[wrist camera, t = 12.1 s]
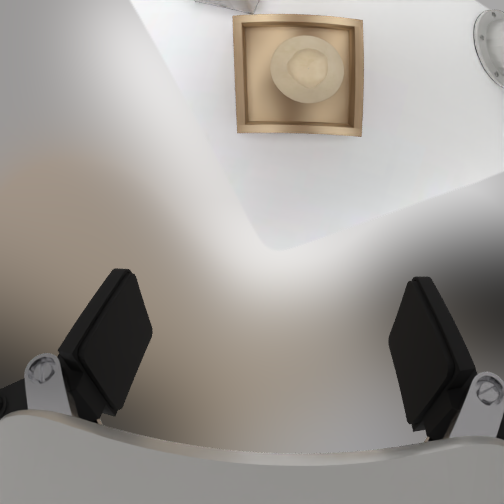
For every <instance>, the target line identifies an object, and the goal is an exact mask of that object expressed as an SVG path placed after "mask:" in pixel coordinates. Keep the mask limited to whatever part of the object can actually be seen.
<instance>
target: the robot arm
mask: <svg viewBox="0 0 504 504" xmlns="http://www.w3.org/2000/svg"><path fill="white" fill-rule="evenodd" d="M474 39H475V46H476V49H477V53H478V56H479V58H480V61H481V63H482V65H483V66H484V68H485V70H486V71H487V73H488V74H489V76H490V77H491V78H492V79H493V80H494V81H495V82H496V83H497V84H498V85H500V86H501V87H503V88H504V12H503V11H500V10H488V11H485V12H483V13H482V14H480V16H479V17H478V18H477V21H476V23H475V29H474ZM151 337H152V326H151V323H150V320H149V317H148V314H147V311H146V308H145V305H144V302H143V299H142V295H141V292H140V289H139V285H138V282H137V279H136V276H135V274H133V273H132V272H131V271H130V270H129V269H114V270H112V271H111V273H110V274H109V275H108V277H107V278H106V280H105V281H104V282H103V284H102V285H101V286H100V288H99V289H98V291H97V292H96V294H95V295H94V296H93V298H92V299H91V301H90V302H89V303H88V305H87V307H86V308H85V310H84V311H83V312H82V314H81V315H80V317H79V318H78V320H77V321H76V323H75V324H74V326H73V327H72V329H71V330H70V332H69V333H68V335H67V337H66V338H65V340H64V341H63V343H62V345H61V346H60V348H59V349H58V351H59V355H58V357H56V356H55V355H53V354H50V353H44V354H40V355H38V356H36V357H35V358H33V359H32V360H31V361H30V362H29V364H28V365H27V367H26V370H25V378H24V379H22V380H20V381H17V382H15V383H13V384H11V385H8V386H6V387H4V388H2V389H0V504H504V382H503V381H502V380H501V378H500V377H498V376H497V375H495V374H493V373H491V372H482V373H479V374H477V372H476V369H475V365H474V363H473V361H472V358H471V356H470V354H469V351H468V349H467V347H466V345H465V343H464V341H463V338H462V336H461V334H460V332H459V330H458V328H457V326H456V324H455V322H454V320H453V318H452V316H451V314H450V313H449V310H448V308H447V307H446V305H445V303H444V301H443V299H442V298H441V295H440V293H439V292H438V290H437V288H436V286H435V285H434V283H433V281H432V279H431V278H430V277H414V278H413V279H412V281H409V282H408V283H407V286H406V289H405V293H404V295H403V298H402V302H401V304H400V307H399V311H398V313H397V316H396V319H395V322H394V324H393V327H392V330H391V332H390V335H389V348H390V352H391V355H392V359H393V363H394V367H395V370H396V374H397V378H398V382H399V387H400V391H401V395H402V400H403V404H404V409H405V413H406V418H407V422H408V423H409V424H412V428H413V432H414V431H420V430H426V434H427V438H426V440H425V441H424V443H419V444H412V445H406V446H399V447H391V448H384V449H376V450H366V451H355V452H341V453H316V454H315V453H313V454H286V453H284V454H283V453H259V452H245V451H234V450H224V449H216V448H208V447H200V446H194V445H187V444H182V443H176V442H171V441H165V440H160V439H156V438H151V437H146V436H142V435H138V434H134V433H130V432H126V431H122V430H118V429H114V428H110V427H107V426H104V425H102V422H101V420H100V416H101V414H102V413H104V414H108V415H111V416H116V413H117V411H118V410H120V409H121V408H122V407H123V405H124V402H125V399H126V397H127V395H128V392H129V390H130V387H131V384H132V382H133V380H134V377H135V375H136V373H137V370H138V367H139V365H140V363H141V361H142V358H143V356H144V353H145V351H146V349H147V346H148V344H149V342H150V339H151Z"/></svg>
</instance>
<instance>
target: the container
mask: <svg viewBox="0 0 504 504" xmlns="http://www.w3.org/2000/svg"><path fill="white" fill-rule="evenodd" d="M194 1H195V2H201V3H206V4H211V5H216V6H221V7H225V8H230V9H234V10H238V11H242V12H246V13H250V14H252V13H253V12H254V11H255V9H256V6H257V4H258V2H259V0H194Z"/></svg>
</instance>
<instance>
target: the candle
mask: <svg viewBox="0 0 504 504" xmlns="http://www.w3.org/2000/svg"><path fill="white" fill-rule="evenodd" d="M270 71H271V76H272V79H273V81H274V83H275V85H276V86H277V88H278V89H279V90H280V91H281V92H282V93H283V94H284V95H286V96H287V97H289V98H290V99H292V100H295V101H298V102H301V103H317V102H321V101H324V100H326V99H328V98H329V97H331V96H332V95H333V94H335V93H336V91H337V90H338V89H339V87H340V86H341V83H342V81H343V77H344V66H343V62H342V59H341V57H340V55H339V53H338V52H337V51H336V49H335V48H334V47H333V46H332V45H331V44H329V43H328V42H326V41H325V40H323V39H320V38H318V37H314V36H306V35H303V36H296V37H293V38H290V39H288V40H286V41H285V42H283V43H282V44H281V45H280V46H279V47H278V48H277V49H276V50H275V52H274V54H273V56H272V59H271V65H270Z"/></svg>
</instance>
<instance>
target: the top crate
mask: <svg viewBox="0 0 504 504" xmlns="http://www.w3.org/2000/svg"><path fill="white" fill-rule="evenodd" d="M303 35H306V36H314V37H318V38H320V39H323V40H325V41H326V42H328V43H329V44H331V45H332V46H333V47H334V48H335V49H336V51H337V52H338V53H339V55H340V57H341V59H342V62H343V66H344V77H343V81H342V83H341V86H340V87H339V89H338V90H337V91H336V93H335V94H333V95H332V96H331V97H329V98H328V99H326V100H324V101H321V102H317V103H301V102H298V101H295V100H292V99H290V98H289V97H287V96H286V95H284V94H283V93H282V92H281V91H280V90H279V89H278V88H277V86H276V85H275V83H274V81H273V79H272V76H271V71H270V65H271V59H272V56H273V54H274V52H275V50H276V49H277V48H278V47H279V46H280V45H281V44H282V43H283V42H285V41H286V40H288V39H290V38H293V37H296V36H303ZM233 43H234V68H235V92H236V115H237V133H309V134H330V135H345V136H358V137H361V135H362V117H363V85H364V48H363V20H358V19H350V18H342V17H332V16H320V15H301V14H255V15H237V16H233Z"/></svg>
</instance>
